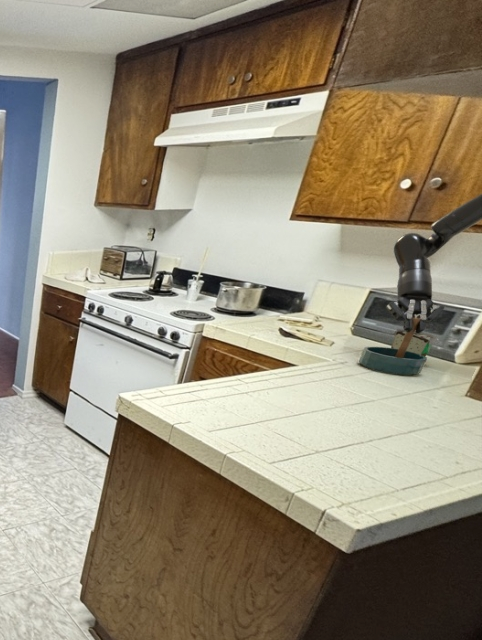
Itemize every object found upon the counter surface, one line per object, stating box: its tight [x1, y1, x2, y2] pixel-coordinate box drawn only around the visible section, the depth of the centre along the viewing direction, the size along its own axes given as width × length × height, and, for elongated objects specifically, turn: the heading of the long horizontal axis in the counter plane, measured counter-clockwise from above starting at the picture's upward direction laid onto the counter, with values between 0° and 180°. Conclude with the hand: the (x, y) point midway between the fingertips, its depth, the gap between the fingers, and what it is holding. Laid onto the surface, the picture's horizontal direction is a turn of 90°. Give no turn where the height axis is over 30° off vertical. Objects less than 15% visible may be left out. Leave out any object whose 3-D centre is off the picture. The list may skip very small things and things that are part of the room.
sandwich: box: [390, 329, 438, 357], centre depth 160 cm, size 12×6×10 cm, turn 179°
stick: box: [395, 317, 420, 358], centre depth 150 cm, size 4×4×15 cm
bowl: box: [358, 346, 428, 376], centre depth 153 cm, size 15×15×6 cm
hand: (414, 331), depth 147 cm, fingers closed on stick, 2 cm apart
